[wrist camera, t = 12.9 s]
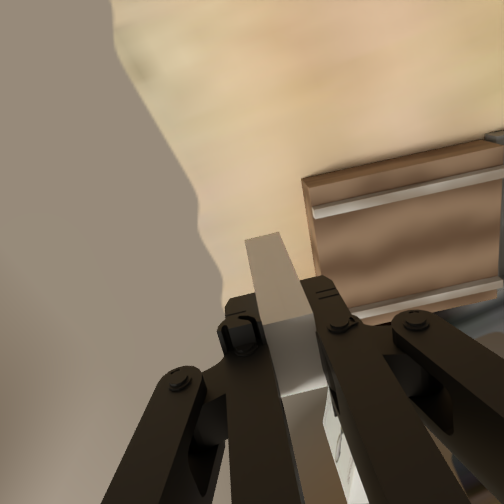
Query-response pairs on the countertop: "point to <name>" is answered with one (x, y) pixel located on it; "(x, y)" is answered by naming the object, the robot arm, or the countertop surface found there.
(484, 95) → the countertop surface
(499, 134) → the tray
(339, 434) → the supplement box
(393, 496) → the robot arm
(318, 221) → the slot board
